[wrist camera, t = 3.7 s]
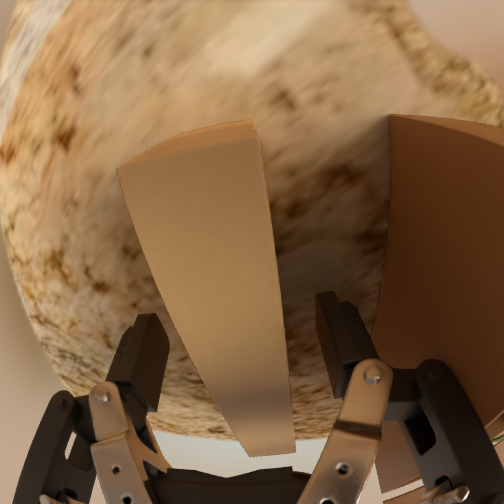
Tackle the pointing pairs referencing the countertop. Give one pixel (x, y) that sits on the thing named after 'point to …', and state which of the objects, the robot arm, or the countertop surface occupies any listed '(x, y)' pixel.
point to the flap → (410, 499)
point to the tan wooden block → (218, 272)
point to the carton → (443, 269)
